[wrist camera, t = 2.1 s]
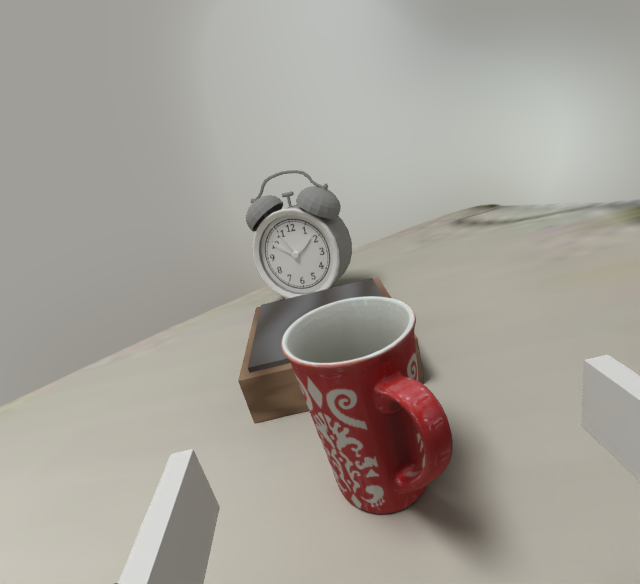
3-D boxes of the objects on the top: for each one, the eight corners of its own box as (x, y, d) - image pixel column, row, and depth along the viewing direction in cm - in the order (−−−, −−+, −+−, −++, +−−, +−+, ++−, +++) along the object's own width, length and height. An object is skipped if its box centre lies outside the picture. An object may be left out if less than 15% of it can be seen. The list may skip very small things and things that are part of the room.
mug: (308, 462, 32) (264, 327, 27) (395, 415, 35) (369, 284, 30) (391, 609, 21) (342, 426, 16) (509, 523, 24) (497, 344, 19)
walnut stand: (384, 311, 55) (377, 274, 52) (424, 383, 38) (416, 332, 36) (266, 339, 55) (254, 304, 53) (254, 423, 38) (236, 375, 36)
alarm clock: (264, 310, 66) (224, 186, 58) (285, 289, 73) (252, 177, 65) (351, 305, 59) (320, 164, 51) (364, 283, 66) (339, 157, 58)
